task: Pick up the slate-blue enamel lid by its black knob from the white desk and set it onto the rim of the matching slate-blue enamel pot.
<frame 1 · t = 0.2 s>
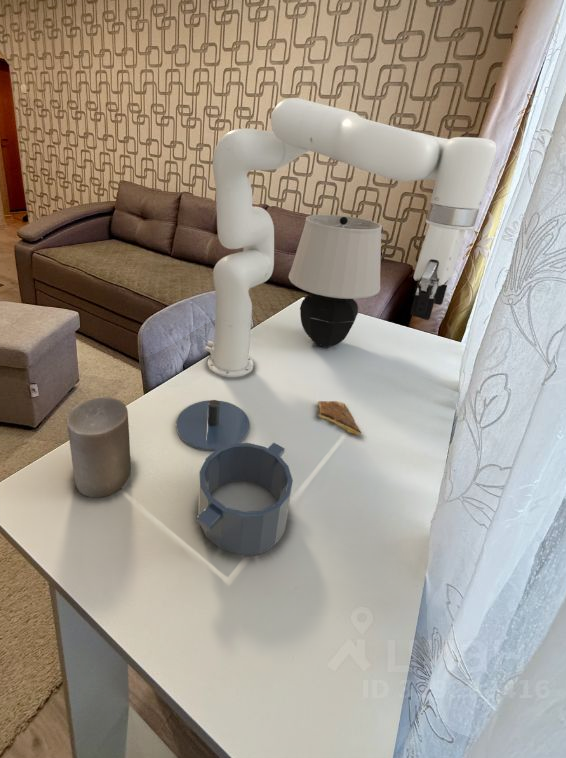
hand: (426, 309, 73), 31 cm above the table, tool pointing down, fingers open, 9 cm apart
lid: (213, 424, 85), point 1 cm above the table
pot: (242, 514, 66), on the table
pillar candle: (103, 477, 71), on the table
cake slice: (340, 418, 91), on the table
table lamp: (323, 343, 125), on the table
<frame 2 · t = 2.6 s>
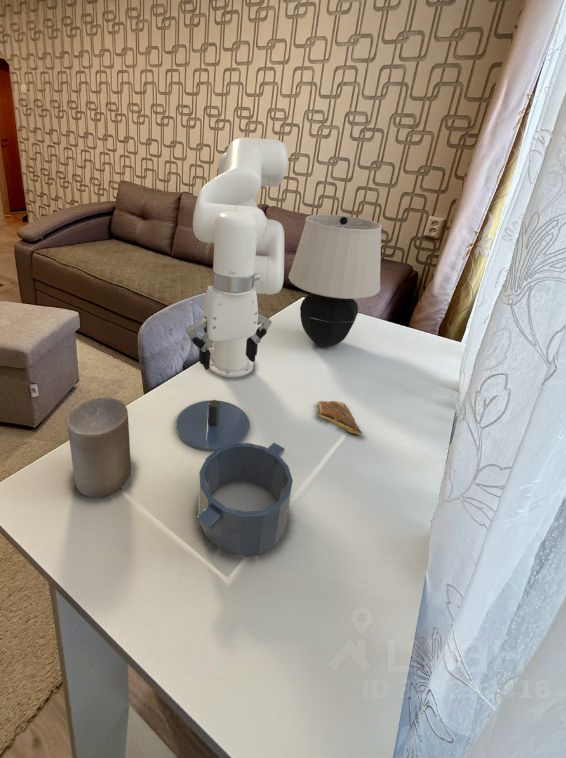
hand: (228, 362, 79), 17 cm above the table, tool pointing down, fingers open, 9 cm apart
nothing on the table moved.
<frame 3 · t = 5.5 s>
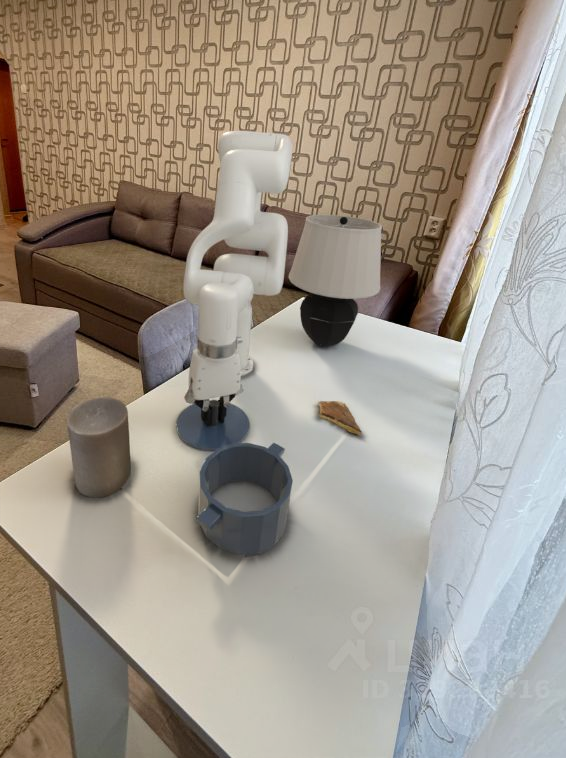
hand: (213, 420, 84), 2 cm above the table, tool pointing down, fingers closed on lid, 2 cm apart
lid: (213, 424, 85), point 1 cm above the table, touching gripper
everything else where it was.
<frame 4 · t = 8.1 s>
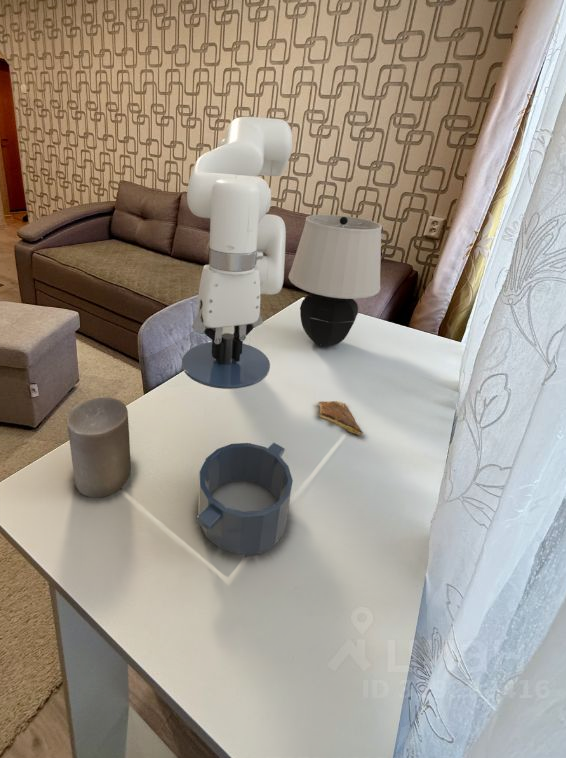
hand: (226, 358, 70), 21 cm above the table, tool pointing down, fingers closed on lid, 2 cm apart
lid: (226, 364, 71), point 20 cm above the table, touching gripper
everything else where it was.
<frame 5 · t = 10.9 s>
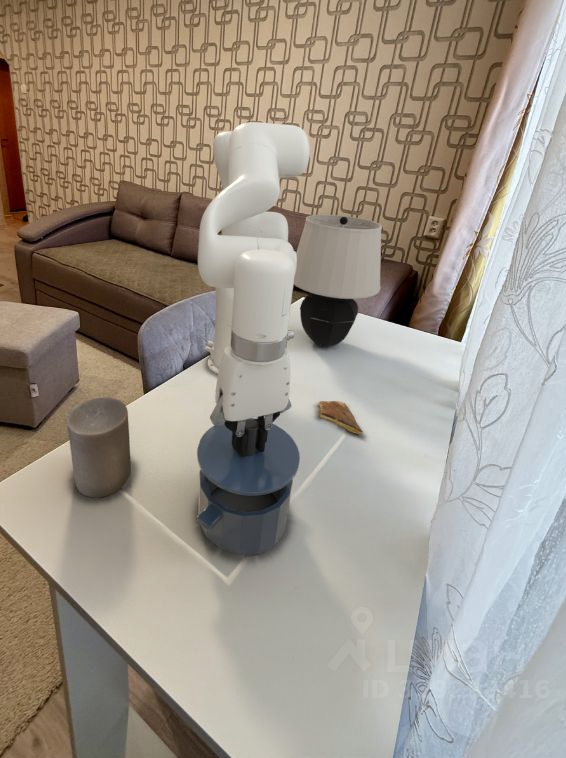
hand: (248, 447, 60), 14 cm above the table, tool pointing down, fingers closed on lid, 2 cm apart
lid: (248, 453, 61), point 13 cm above the table, touching gripper
everything else where it was.
when the fingers open (10 cm above the table, at t = 12.3 s): lid stays where it is, resting on pot.
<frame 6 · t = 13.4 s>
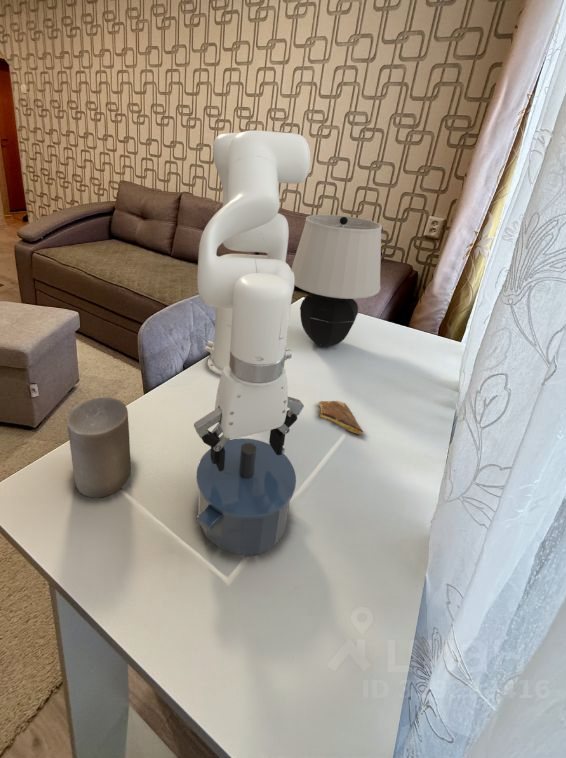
hand: (247, 456, 61), 12 cm above the table, tool pointing down, fingers open, 9 cm apart
lid: (246, 475, 63), point 8 cm above the table, touching pot
everything else where it was.
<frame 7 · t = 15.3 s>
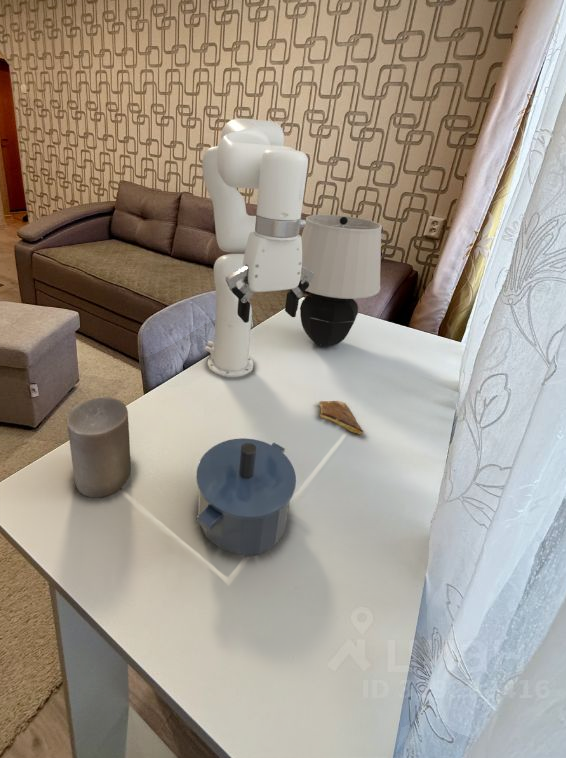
hand: (267, 316, 74), 27 cm above the table, tool pointing down, fingers open, 9 cm apart
nothing on the table moved.
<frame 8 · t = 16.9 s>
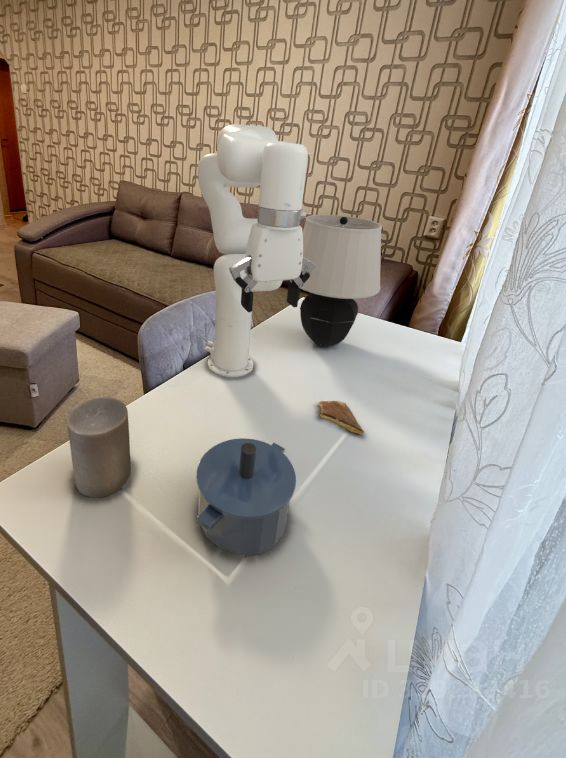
hand: (269, 307, 76), 28 cm above the table, tool pointing down, fingers open, 9 cm apart
nothing on the table moved.
at the end: lid 0.0 cm off-centre on the pot, point 8.5 cm above the pot's base; lid tilted 0°; the gripper is holding nothing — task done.
